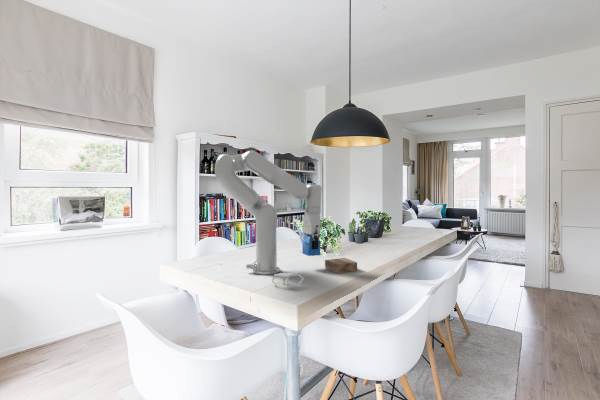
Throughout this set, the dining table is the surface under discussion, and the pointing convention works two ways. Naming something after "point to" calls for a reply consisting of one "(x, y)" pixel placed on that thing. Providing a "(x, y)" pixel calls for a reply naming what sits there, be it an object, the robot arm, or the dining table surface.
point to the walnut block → (341, 265)
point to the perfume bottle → (310, 246)
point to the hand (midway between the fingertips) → (311, 247)
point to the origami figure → (287, 278)
